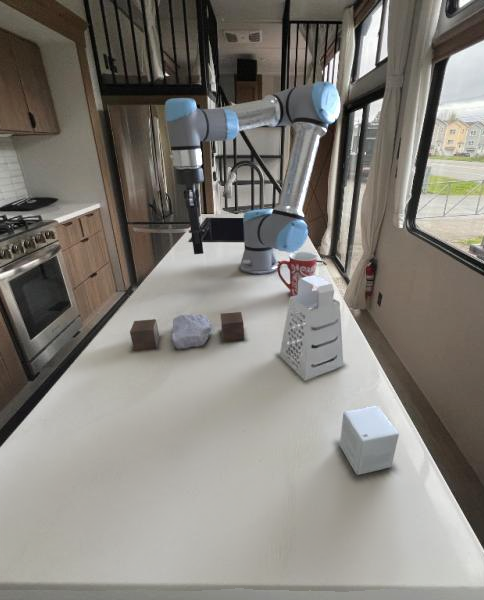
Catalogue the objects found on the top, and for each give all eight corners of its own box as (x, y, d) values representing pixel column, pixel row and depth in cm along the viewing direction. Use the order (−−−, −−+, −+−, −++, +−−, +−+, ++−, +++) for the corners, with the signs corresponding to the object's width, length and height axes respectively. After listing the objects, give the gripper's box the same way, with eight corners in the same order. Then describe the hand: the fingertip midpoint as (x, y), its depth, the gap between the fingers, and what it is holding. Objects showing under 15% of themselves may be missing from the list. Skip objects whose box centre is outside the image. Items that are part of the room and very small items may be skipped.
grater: (305, 380, 69) (310, 295, 60) (279, 355, 77) (280, 277, 68) (343, 365, 73) (353, 284, 64) (315, 343, 81) (320, 268, 73)
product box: (392, 468, 50) (400, 434, 47) (356, 476, 49) (361, 442, 46) (371, 437, 55) (377, 404, 52) (338, 443, 54) (342, 410, 51)
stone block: (208, 328, 92) (172, 326, 90) (210, 313, 90) (173, 311, 88) (211, 353, 82) (170, 351, 80) (213, 337, 80) (172, 335, 78)
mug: (313, 288, 112) (315, 251, 106) (316, 300, 104) (319, 260, 98) (276, 289, 112) (277, 251, 106) (277, 300, 104) (277, 260, 98)
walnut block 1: (159, 337, 86) (156, 318, 83) (156, 348, 81) (153, 329, 78) (138, 339, 85) (134, 320, 83) (134, 350, 80) (129, 331, 78)
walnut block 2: (241, 329, 88) (241, 311, 86) (244, 340, 83) (243, 321, 81) (221, 331, 88) (220, 313, 85) (222, 342, 83) (221, 323, 80)
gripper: (175, 166, 90) (186, 247, 101) (171, 170, 79) (185, 261, 90) (202, 165, 91) (210, 245, 102) (202, 168, 80) (212, 259, 90)
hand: (198, 253), depth 96 cm, fingers closed
